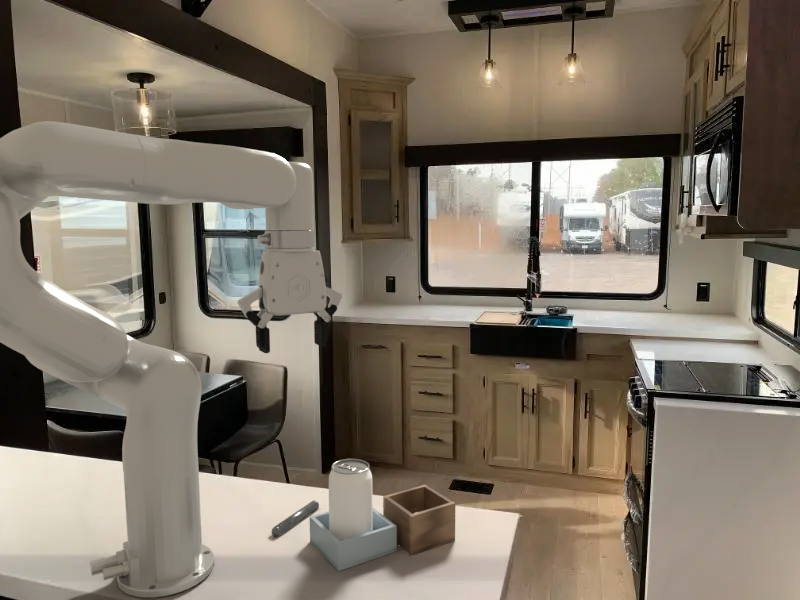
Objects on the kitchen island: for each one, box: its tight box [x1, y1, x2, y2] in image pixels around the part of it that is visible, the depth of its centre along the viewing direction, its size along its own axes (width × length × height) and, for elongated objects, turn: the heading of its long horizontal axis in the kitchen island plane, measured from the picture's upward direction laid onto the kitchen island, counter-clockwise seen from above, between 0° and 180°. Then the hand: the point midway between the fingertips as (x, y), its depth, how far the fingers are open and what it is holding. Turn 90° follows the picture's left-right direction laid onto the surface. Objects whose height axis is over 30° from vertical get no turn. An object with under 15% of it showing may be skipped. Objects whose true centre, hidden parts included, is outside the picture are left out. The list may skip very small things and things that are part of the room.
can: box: [328, 458, 373, 541], centre depth 90 cm, size 6×6×12 cm
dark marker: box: [271, 500, 320, 538], centre depth 99 cm, size 12×2×2 cm, turn 153°
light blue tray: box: [309, 506, 398, 572], centre depth 91 cm, size 10×10×4 cm
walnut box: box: [382, 484, 456, 556], centre depth 94 cm, size 8×8×6 cm
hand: (293, 348), depth 98 cm, fingers open, 9 cm apart
